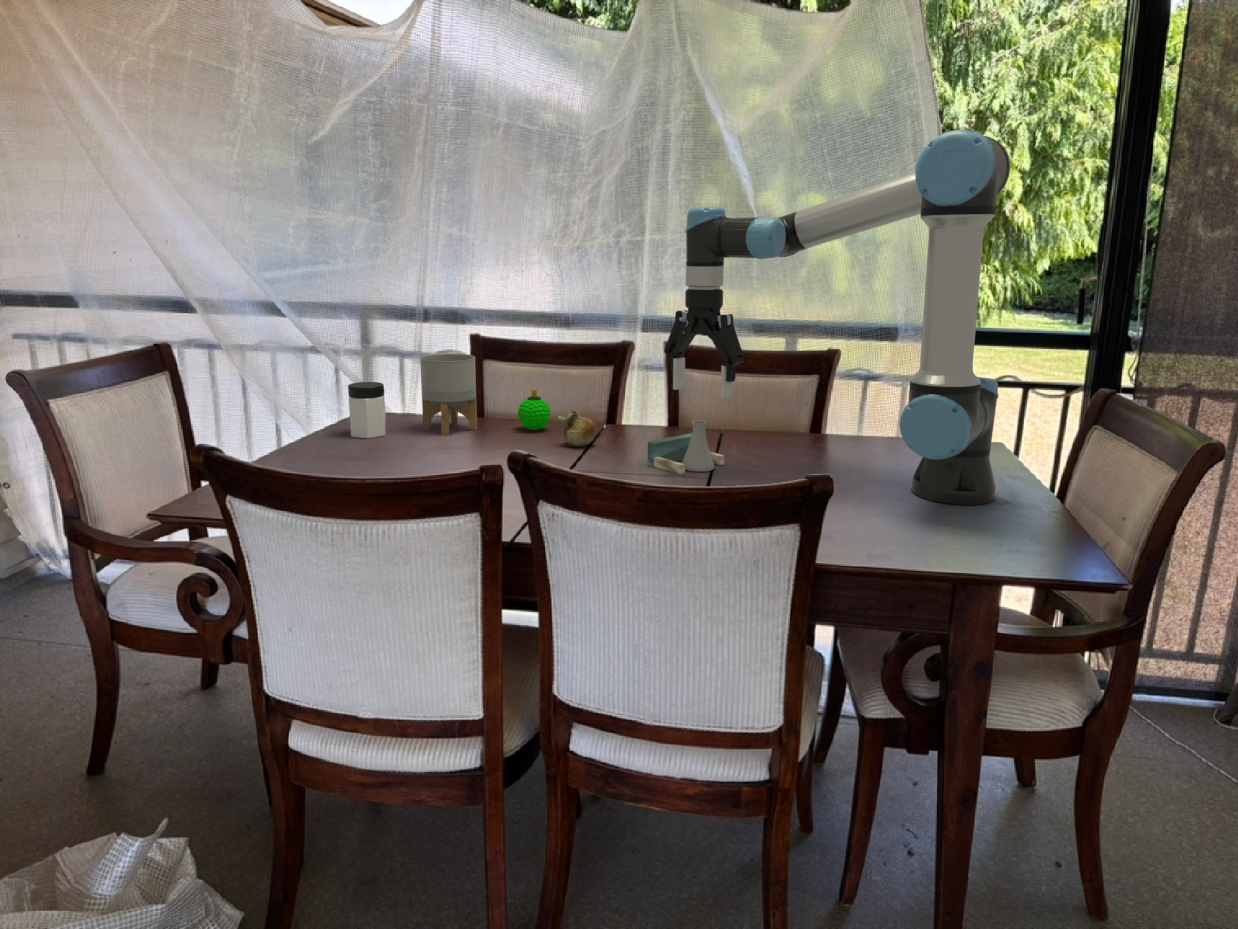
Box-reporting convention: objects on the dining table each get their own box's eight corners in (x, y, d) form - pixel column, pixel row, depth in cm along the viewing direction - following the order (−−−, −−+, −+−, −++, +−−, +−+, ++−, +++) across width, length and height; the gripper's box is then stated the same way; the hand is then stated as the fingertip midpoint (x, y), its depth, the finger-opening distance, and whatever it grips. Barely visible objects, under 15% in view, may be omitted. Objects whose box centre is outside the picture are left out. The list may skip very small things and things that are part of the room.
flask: (713, 474, 184) (715, 426, 182) (678, 471, 186) (679, 424, 183) (716, 465, 191) (718, 419, 188) (683, 462, 192) (684, 417, 190)
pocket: (723, 464, 191) (725, 441, 190) (680, 474, 183) (681, 451, 182) (690, 455, 199) (691, 433, 197) (647, 464, 190) (647, 441, 189)
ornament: (522, 425, 225) (522, 386, 222) (554, 427, 224) (554, 387, 221) (514, 433, 217) (513, 392, 214) (547, 434, 216) (546, 393, 213)
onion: (577, 451, 200) (577, 416, 198) (555, 444, 206) (555, 410, 204) (603, 446, 205) (603, 412, 203) (581, 439, 211) (581, 406, 209)
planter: (472, 436, 213) (469, 361, 209) (417, 435, 213) (414, 360, 209) (481, 424, 226) (479, 353, 221) (429, 423, 226) (426, 352, 221)
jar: (386, 438, 210) (383, 387, 207) (349, 439, 208) (346, 388, 205) (387, 429, 218) (384, 380, 215) (352, 430, 217) (349, 381, 213)
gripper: (765, 289, 172) (760, 399, 177) (674, 284, 190) (672, 383, 195) (738, 291, 167) (735, 403, 172) (648, 285, 185) (647, 387, 191)
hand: (702, 393), depth 184 cm, fingers open, 13 cm apart
